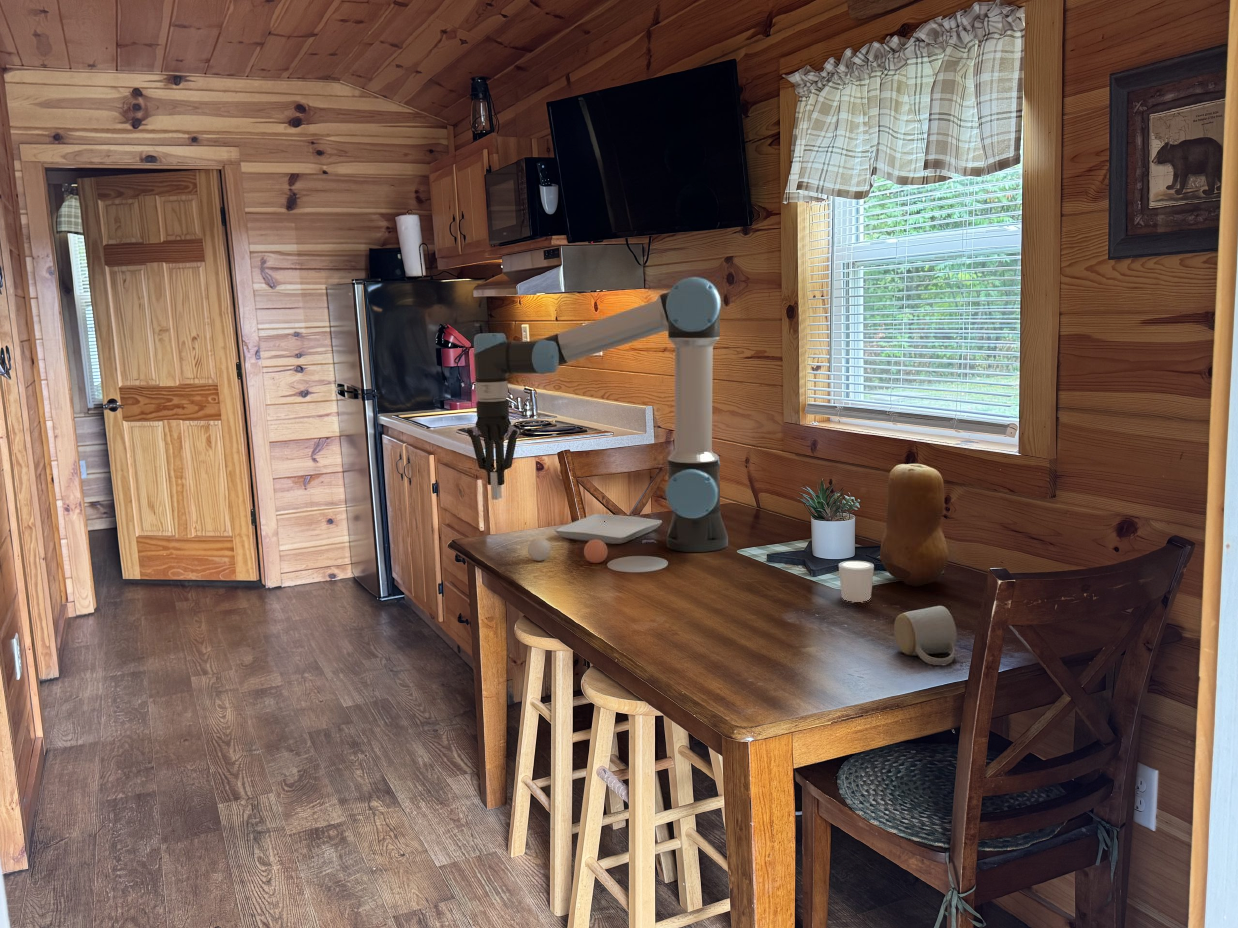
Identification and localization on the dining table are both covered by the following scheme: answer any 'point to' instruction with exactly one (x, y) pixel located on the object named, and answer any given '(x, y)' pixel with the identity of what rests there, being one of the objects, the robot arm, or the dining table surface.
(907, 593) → the dining table surface
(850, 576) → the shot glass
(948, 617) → the ceramic mug
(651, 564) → the oval plate
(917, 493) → the butternut squash
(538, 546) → the ivory ball
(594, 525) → the salad plate
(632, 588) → the dining table surface
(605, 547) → the coral ball
